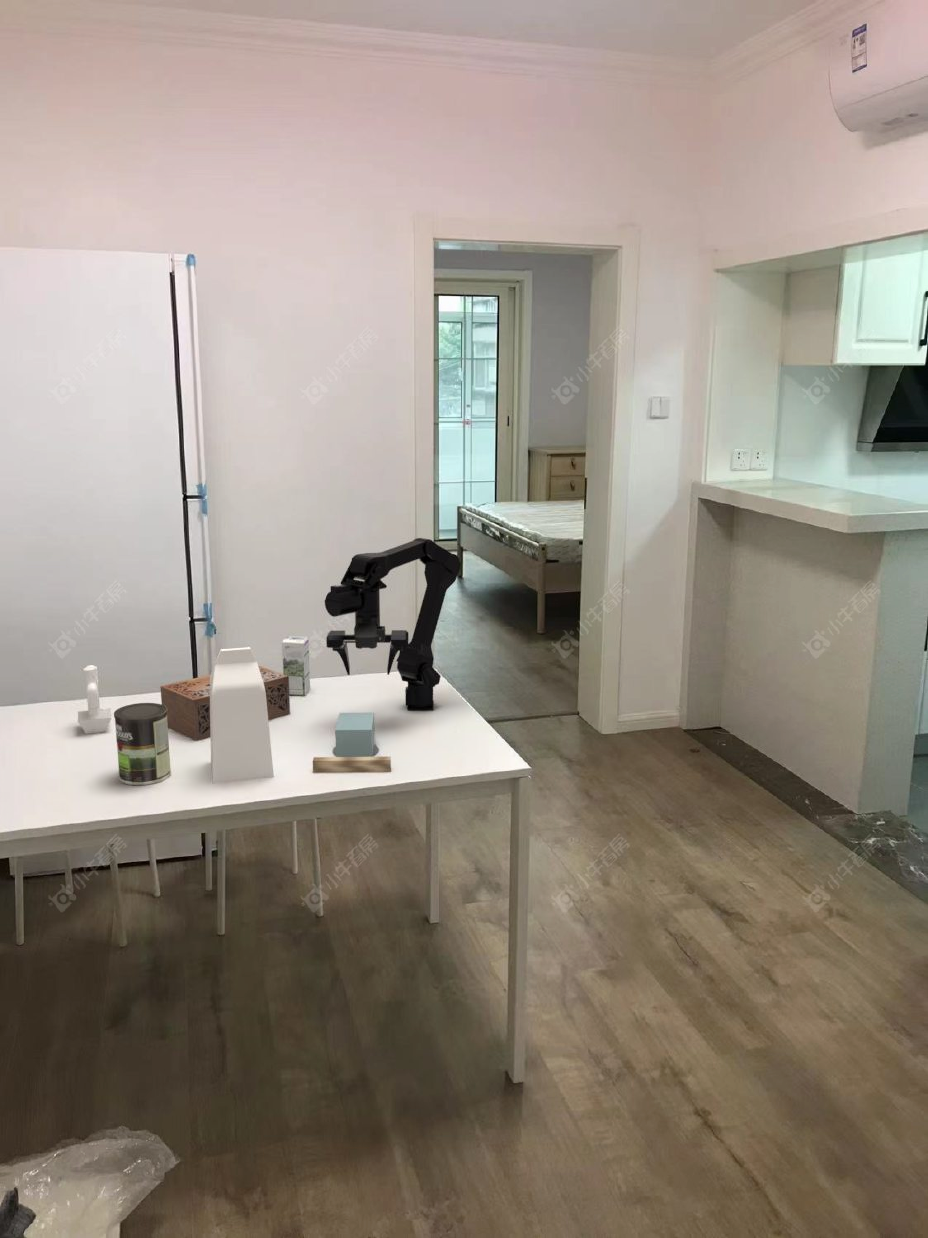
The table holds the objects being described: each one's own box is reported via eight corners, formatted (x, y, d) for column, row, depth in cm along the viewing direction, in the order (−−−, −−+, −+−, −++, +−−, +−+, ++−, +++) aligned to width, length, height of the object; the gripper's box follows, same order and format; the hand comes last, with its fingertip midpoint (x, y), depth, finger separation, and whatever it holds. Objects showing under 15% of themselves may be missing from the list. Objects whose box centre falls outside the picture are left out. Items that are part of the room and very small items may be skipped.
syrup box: (311, 689, 261) (309, 636, 258) (305, 696, 255) (303, 641, 252) (289, 688, 262) (287, 635, 258) (283, 695, 256) (281, 641, 253)
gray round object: (379, 742, 223) (379, 741, 223) (377, 759, 214) (377, 758, 214) (334, 742, 223) (334, 742, 223) (330, 759, 213) (330, 758, 213)
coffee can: (133, 790, 197) (128, 722, 194) (110, 775, 204) (104, 710, 201) (181, 776, 204) (176, 710, 201) (156, 762, 211) (152, 699, 208)
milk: (213, 783, 201) (206, 658, 195) (210, 762, 212) (203, 644, 206) (273, 776, 204) (268, 654, 198) (268, 756, 215) (263, 640, 209)
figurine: (79, 738, 225) (73, 674, 222) (79, 725, 234) (73, 663, 230) (112, 734, 228) (107, 671, 224) (111, 721, 236) (106, 660, 233)
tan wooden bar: (390, 767, 209) (390, 756, 208) (390, 771, 207) (390, 760, 206) (314, 768, 208) (313, 757, 208) (313, 772, 206) (312, 760, 206)
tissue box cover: (196, 742, 224) (193, 700, 222) (163, 727, 234) (160, 686, 231) (290, 715, 242) (288, 676, 240) (255, 702, 252) (253, 664, 249)
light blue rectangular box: (374, 741, 224) (374, 712, 223) (372, 759, 213) (371, 729, 212) (340, 741, 224) (339, 712, 222) (336, 760, 213) (335, 730, 211)
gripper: (323, 617, 221) (325, 685, 225) (407, 617, 222) (407, 684, 226) (327, 606, 232) (329, 670, 236) (408, 606, 233) (408, 670, 236)
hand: (368, 674), depth 233 cm, fingers open, 9 cm apart
